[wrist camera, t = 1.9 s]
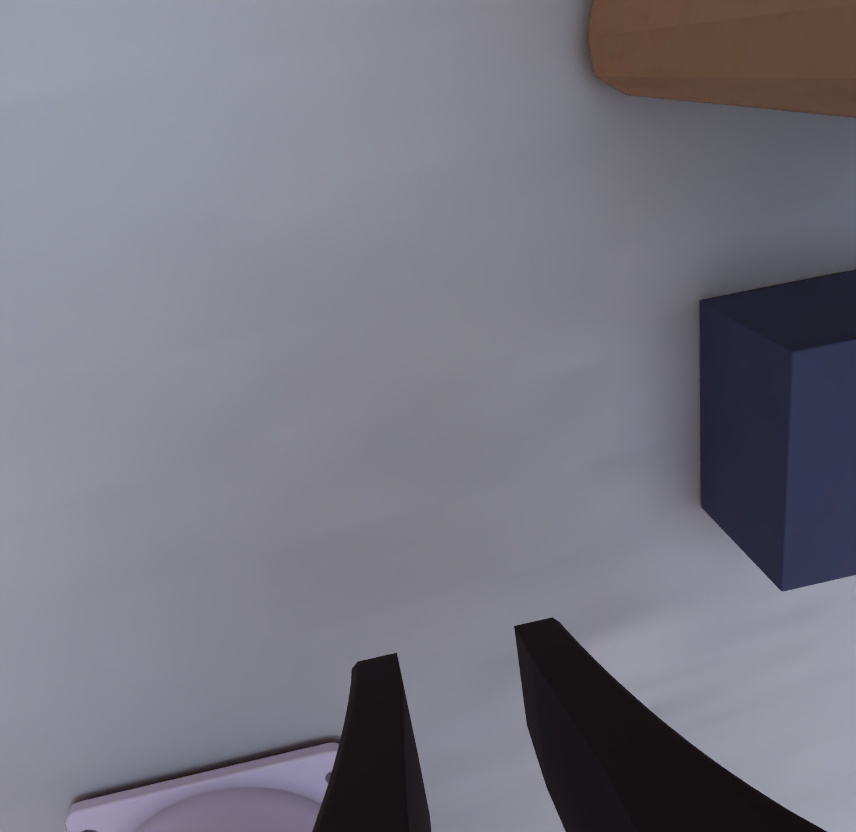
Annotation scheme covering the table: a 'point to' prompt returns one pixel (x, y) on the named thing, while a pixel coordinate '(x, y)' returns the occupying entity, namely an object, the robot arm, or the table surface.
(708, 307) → the navy block
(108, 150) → the table surface
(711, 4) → the wooden block
